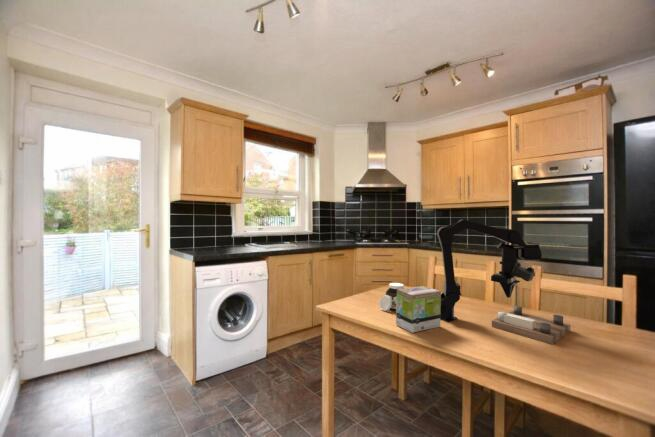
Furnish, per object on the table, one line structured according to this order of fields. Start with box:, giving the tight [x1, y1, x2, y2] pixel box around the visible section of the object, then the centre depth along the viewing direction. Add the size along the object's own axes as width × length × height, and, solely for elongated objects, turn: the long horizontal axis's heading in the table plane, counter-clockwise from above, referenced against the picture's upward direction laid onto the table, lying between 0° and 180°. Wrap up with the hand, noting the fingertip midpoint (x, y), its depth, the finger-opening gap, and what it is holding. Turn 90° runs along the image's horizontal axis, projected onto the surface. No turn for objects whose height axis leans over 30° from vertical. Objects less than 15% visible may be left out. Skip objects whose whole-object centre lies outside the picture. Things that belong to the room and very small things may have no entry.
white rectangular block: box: [497, 311, 535, 330], centre depth 112 cm, size 12×4×3 cm, turn 36°
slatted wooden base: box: [491, 305, 571, 345], centre depth 114 cm, size 20×20×6 cm
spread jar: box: [378, 282, 405, 312], centre depth 138 cm, size 12×11×12 cm
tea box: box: [395, 285, 442, 334], centre depth 117 cm, size 15×10×15 cm, turn 117°
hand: (508, 297), depth 119 cm, fingers closed
